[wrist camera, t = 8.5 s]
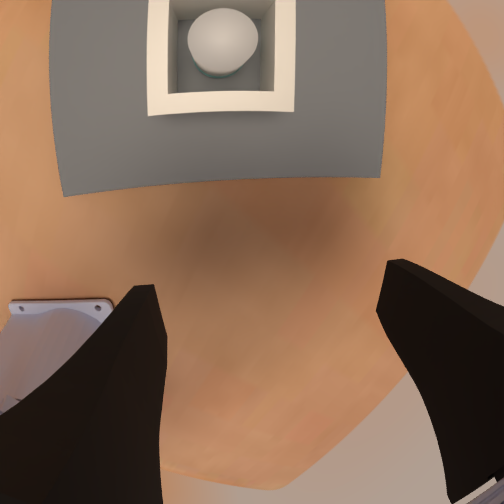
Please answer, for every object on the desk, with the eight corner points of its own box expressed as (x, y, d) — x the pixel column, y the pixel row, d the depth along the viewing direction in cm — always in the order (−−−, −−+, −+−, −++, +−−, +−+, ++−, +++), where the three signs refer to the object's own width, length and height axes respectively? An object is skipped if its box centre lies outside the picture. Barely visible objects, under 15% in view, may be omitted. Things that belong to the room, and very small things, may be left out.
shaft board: (70, 191, 15) (25, 231, 11) (61, -15, 9) (14, -41, 4) (372, 173, 17) (424, 205, 13) (374, -24, 11) (426, -50, 6)
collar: (161, 111, 13) (147, 115, 10) (162, 8, 11) (149, -14, 8) (275, 108, 14) (293, 112, 11) (277, 6, 11) (295, -15, 8)
